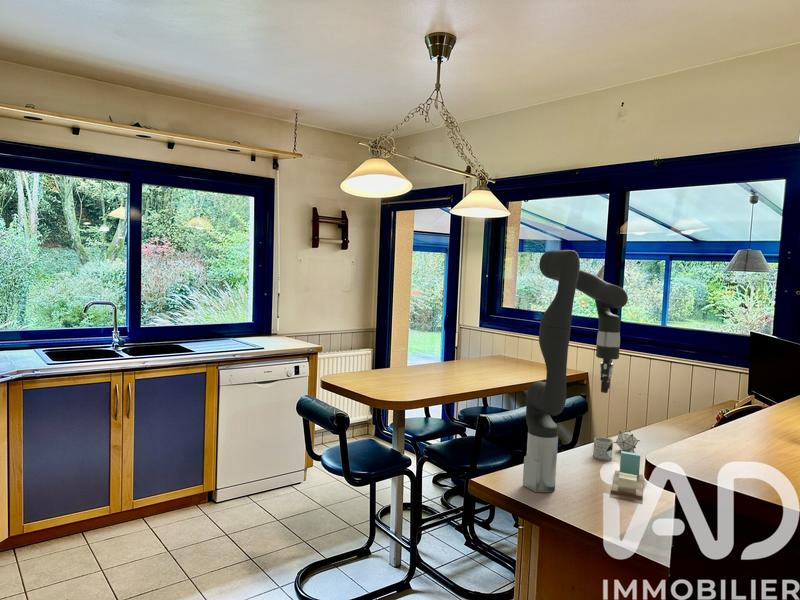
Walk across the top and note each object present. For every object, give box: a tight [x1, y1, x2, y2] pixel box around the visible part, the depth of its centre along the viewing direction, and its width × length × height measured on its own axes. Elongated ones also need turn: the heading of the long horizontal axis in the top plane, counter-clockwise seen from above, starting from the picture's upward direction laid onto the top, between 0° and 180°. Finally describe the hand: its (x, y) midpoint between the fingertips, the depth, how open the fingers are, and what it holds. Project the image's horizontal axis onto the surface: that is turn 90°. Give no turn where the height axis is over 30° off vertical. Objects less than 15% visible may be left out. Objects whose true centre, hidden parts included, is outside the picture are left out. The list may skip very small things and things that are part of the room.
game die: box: [613, 430, 641, 453], centre depth 204 cm, size 9×8×10 cm
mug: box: [592, 436, 614, 461], centre depth 198 cm, size 10×7×7 cm, turn 151°
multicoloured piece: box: [609, 450, 645, 505], centre depth 166 cm, size 26×9×8 cm, turn 154°
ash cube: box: [618, 472, 637, 494], centre depth 160 cm, size 5×5×5 cm
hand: (605, 390), depth 182 cm, fingers open, 8 cm apart
